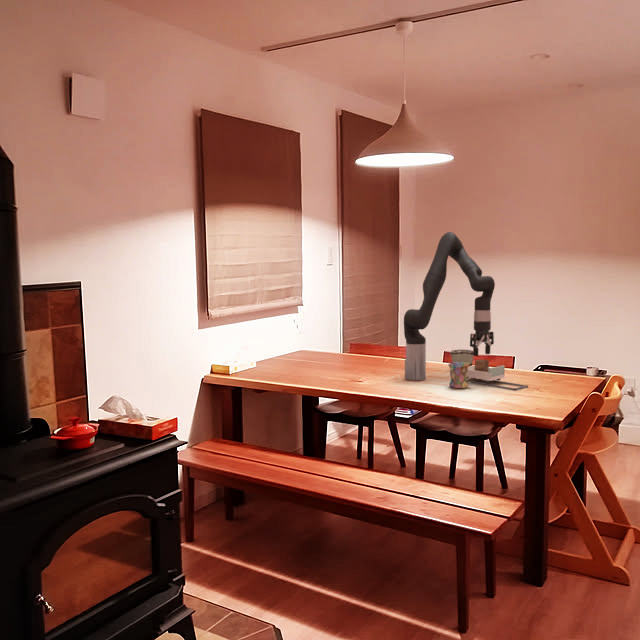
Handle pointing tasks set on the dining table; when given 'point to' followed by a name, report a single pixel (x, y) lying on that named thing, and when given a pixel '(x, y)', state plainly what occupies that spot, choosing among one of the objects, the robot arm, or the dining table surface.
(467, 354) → the food container
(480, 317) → the robot arm
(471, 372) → the cart
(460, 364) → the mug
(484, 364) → the block
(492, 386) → the rails
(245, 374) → the dining table surface
